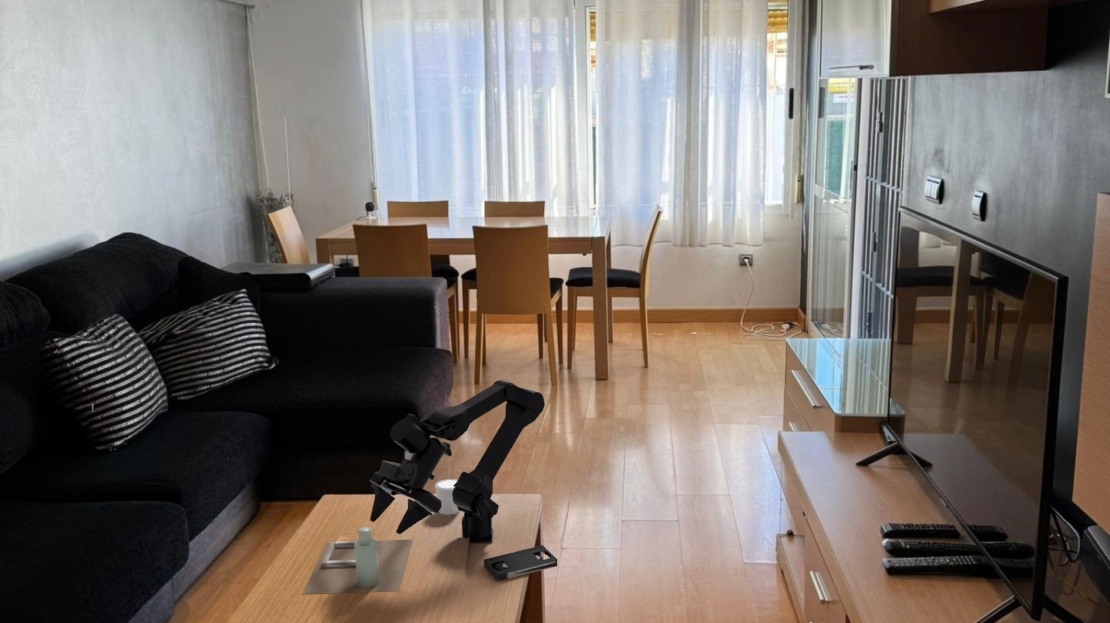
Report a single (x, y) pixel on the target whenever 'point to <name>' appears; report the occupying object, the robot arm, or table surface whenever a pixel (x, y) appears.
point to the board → (340, 568)
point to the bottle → (366, 559)
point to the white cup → (446, 496)
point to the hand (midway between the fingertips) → (384, 527)
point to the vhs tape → (519, 563)
